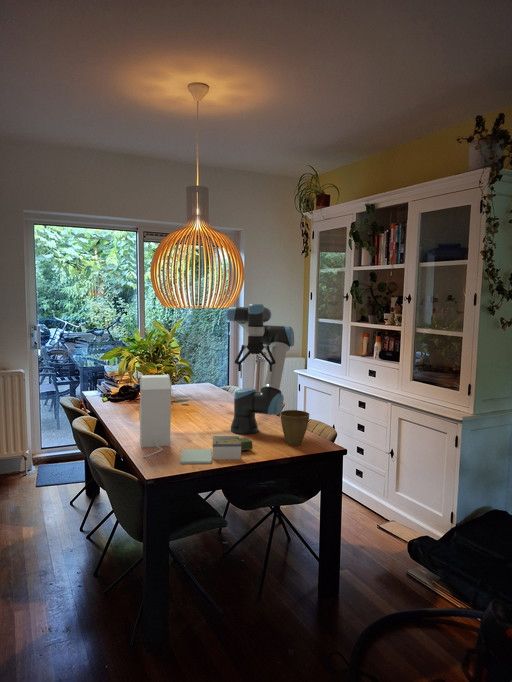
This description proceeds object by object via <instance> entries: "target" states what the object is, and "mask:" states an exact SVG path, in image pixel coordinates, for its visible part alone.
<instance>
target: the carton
mask: <svg viewBox="0 0 512 682" xmlns="http://www.w3.org/2000/svg"><path fill="white" fill-rule="evenodd" d="M216 443H241V452H242V451H248V450H253V448H254V447H253V441H252V440H251V439H249V438H247V437H239V438H237V439H230V440H223V441H216Z"/></svg>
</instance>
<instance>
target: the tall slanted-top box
mask: <svg viewBox="0 0 512 682" xmlns="http://www.w3.org/2000/svg"><path fill="white" fill-rule="evenodd" d="M139 389H140V391H139V393H140V396H139V397H140V398H139V409H138V419H139V442H140V448H141V449H143V448H151V447H152V448H153V447H155V448H158V450H156V451H153V452H152V453H150V454H148V455H142V458H143V459H144V458H148V457H152V456H153V455H155V454H158V453H160V452H162V451H163V448H162V447H166V446H167V447H168V446H169V447H170V446H171V427H172V425H171V422H172V421H171V419H172V385H171V376H170V374H168V373H166V374H149V375H148V374H147V375H145V374H144V375H142V374H139Z"/></svg>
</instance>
